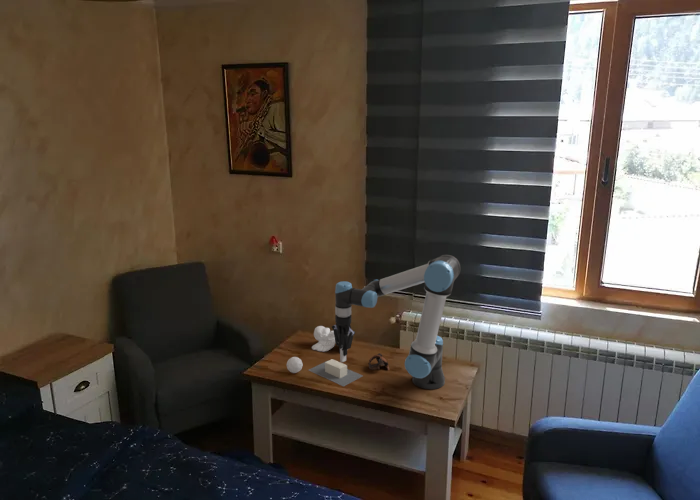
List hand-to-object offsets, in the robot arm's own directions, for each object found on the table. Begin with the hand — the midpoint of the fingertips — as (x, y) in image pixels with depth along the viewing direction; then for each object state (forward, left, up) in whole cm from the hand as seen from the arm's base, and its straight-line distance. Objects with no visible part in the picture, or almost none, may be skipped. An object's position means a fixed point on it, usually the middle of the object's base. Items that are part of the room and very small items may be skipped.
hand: (343, 360), depth 258 cm
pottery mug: (-7, -19, -9) cm, 22 cm away
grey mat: (+5, 0, -9) cm, 10 cm away
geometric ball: (+21, +12, -9) cm, 26 cm away
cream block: (0, 0, -6) cm, 6 cm away
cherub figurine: (+27, -20, -9) cm, 35 cm away
